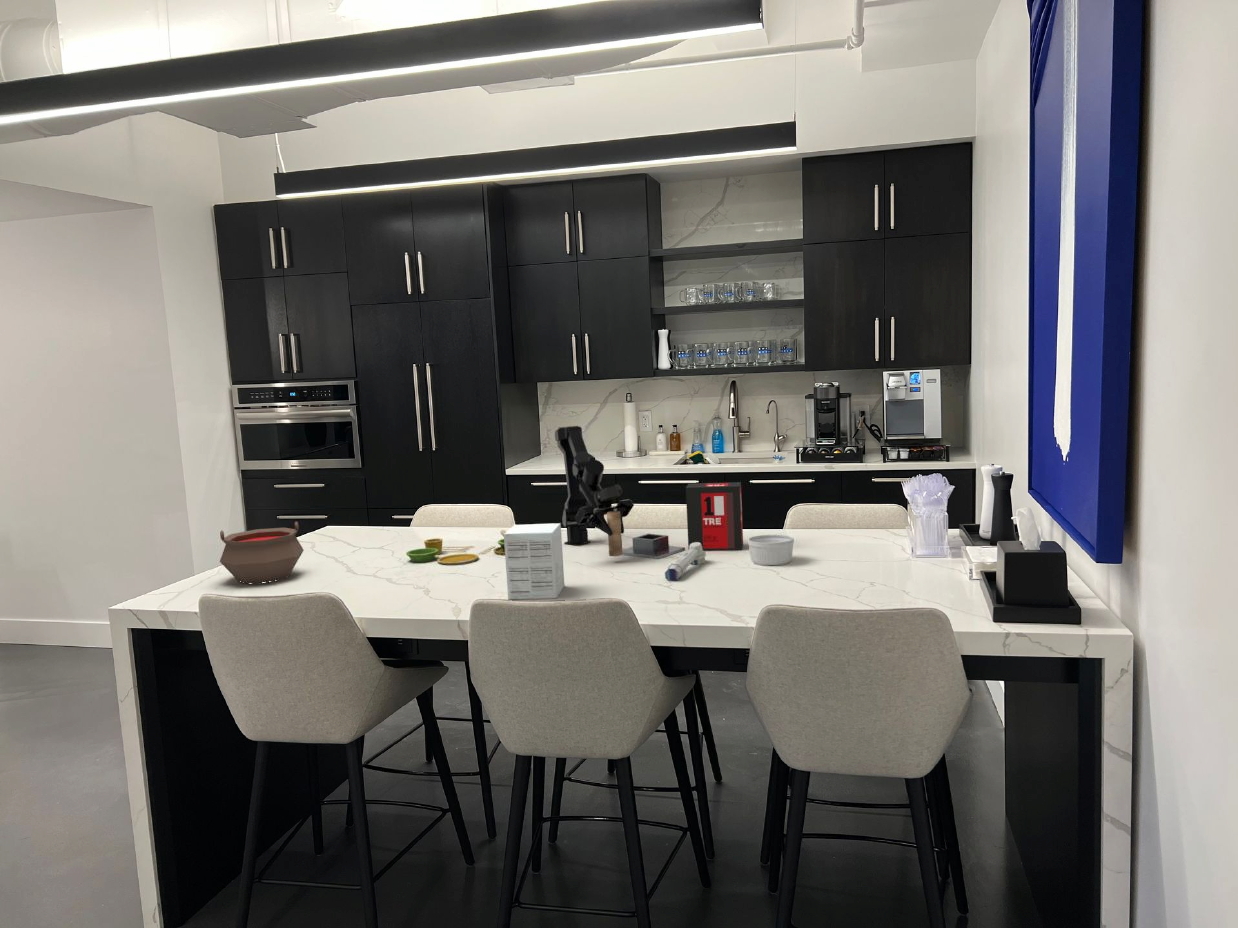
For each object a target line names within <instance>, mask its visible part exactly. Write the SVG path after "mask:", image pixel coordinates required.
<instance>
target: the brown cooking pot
mask: <svg viewBox="0 0 1238 928" xmlns="http://www.w3.org/2000/svg"><path fill="white" fill-rule="evenodd" d="M299 529H300V526H299V522H298V521H295V522H294V528H288V527H274V528H259V529H258V528H257V529H252V530H246V531H241V532H235V533H231V534H229V535H227V536H225V532H224V530H220V532H219V535H220V537H219V538H220V540H221V541H222V542H223V543H224V544H225V545H224V549H223V551H222V554H221V555H220V556H221V557H220V559H219V563H220V564H221V565H223V567H225V569H226V570H227V571H228V572H229V573H230V574H231V575H232V576H233V577H234V578H235V580H236V581H238V582H239V581H241V582H244V583H262V582H269V581H275V580H279V581H282V580H281V579H283V580H285V579H287V578H288V577H289V576H290V575H291V573H292V572H293V570H294V568H295V566H296V565H297V563H298V561H299V560H300V558H301V556H302V554H303V553H304V551H305V550H304V548H303V546H302V544H301V543H300V542H299V540H298V538H297V536H296V534H297V533H298V531H299ZM287 576H288V577H287ZM286 577H287V578H286ZM275 582H276V581H275ZM244 583H243V584H244Z"/></svg>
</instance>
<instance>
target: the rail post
mask: <svg viewBox="0 0 1238 928" xmlns="http://www.w3.org/2000/svg"><path fill="white" fill-rule="evenodd" d="M606 519H607V520H606V522H607V524H608V525H609V527H610V529H611V531H612V536H610V535H608V534H607V541H608V556H610V557H621V556H622V550H623V541H622V533H621V515H620V511H609V512H607V515H606Z"/></svg>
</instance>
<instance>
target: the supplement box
mask: <svg viewBox="0 0 1238 928" xmlns="http://www.w3.org/2000/svg"><path fill="white" fill-rule="evenodd" d="M561 524H562V523H561V522H559V523H533V524H527V523H526V524H513V525H512V526H511V528H509V529H508V530H507V531H506V533H505V534H504V537H503V539H504V546H505V555H504V556H505V570H506V585H507V586H506V587H507V599H508V600H533V599H534V600H536V599H537V600H538V599H540V600H541V599H543V600H545V599H548V600H549V599H557V598H558V597H559V595H560V594H561V592H562V590H563V589H564V587H565V585H566V583H565V572H564V570H565V569H564V556H563V555H564V554H563V538H562V536H563V535H562V525H561Z"/></svg>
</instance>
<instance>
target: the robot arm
mask: <svg viewBox="0 0 1238 928" xmlns="http://www.w3.org/2000/svg"><path fill="white" fill-rule="evenodd" d="M554 440H555V442H556V443H557V444H556V445H557V448H558V449H559V450H560V451H561V453H562V454H563V462H564V469H565V478H566V487H567V489H566V490H567V499H566V501H565V503H564V509H563V512H562V526H564V527H565V528H566V538H567V539H566V541H564V545H571V546H573V545H574V546H581V545H584V544H588V543H591V540H589V534H588V533H589V532H588V527H587V526H593V527H594V528H597V529H598V530H600V531H602V532H604V533H605V534H607V536H608V535H610V536H612V531H611V529H610V527H609V525H608V523H607V520H606V518H605V515H606V516H607V512H609V511H620V515H621V534H624V532H625V527H624V521H623V518H625V517H627V516H628V515H629V514H630V512H631V511H632V509H633V507H634V506H635V504H634V503H633V501H632V499H628V498H627V499H623V500H619V501H618V502H617V504H616V505H613V504H614V503H615V502H616V501H615V499H617V498H619V497H620V496H621V495H622V494H623V489H622V487H621V486H620V484H619V483H618V484H614V485H612V486H609V487H605V488H602V487H601V485H600V483H601V481H602V478H603V474H604V470H605V466H604V464H603V463H602V462H601V461H599V460H598V459H596V456H594V455H592V454H590V453H589V452H588V449H587V446H586V443H585V441H584V436H583V429H582V427H581V426H579V425H570V426H559V427H557V429H556V430H554Z"/></svg>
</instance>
